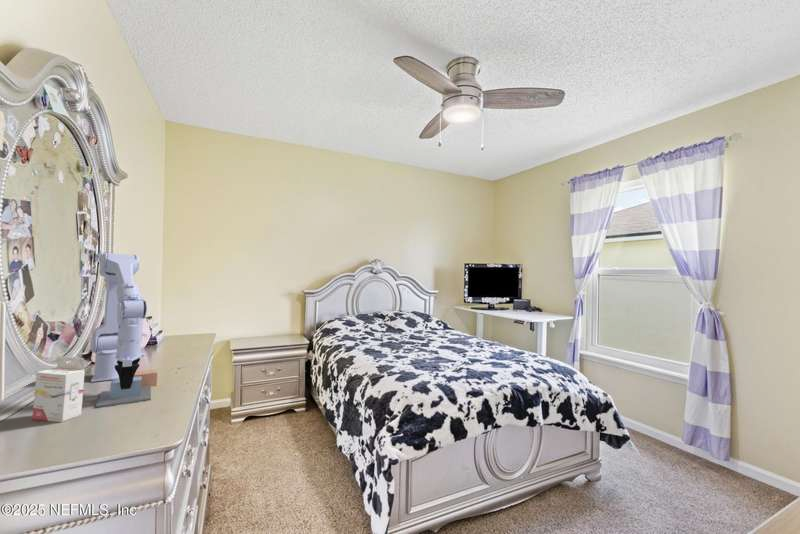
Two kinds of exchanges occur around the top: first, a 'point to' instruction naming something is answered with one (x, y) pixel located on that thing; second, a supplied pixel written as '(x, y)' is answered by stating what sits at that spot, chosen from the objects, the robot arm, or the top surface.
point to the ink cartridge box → (59, 391)
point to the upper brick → (147, 377)
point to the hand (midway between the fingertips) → (126, 385)
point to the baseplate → (123, 398)
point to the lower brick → (118, 393)
